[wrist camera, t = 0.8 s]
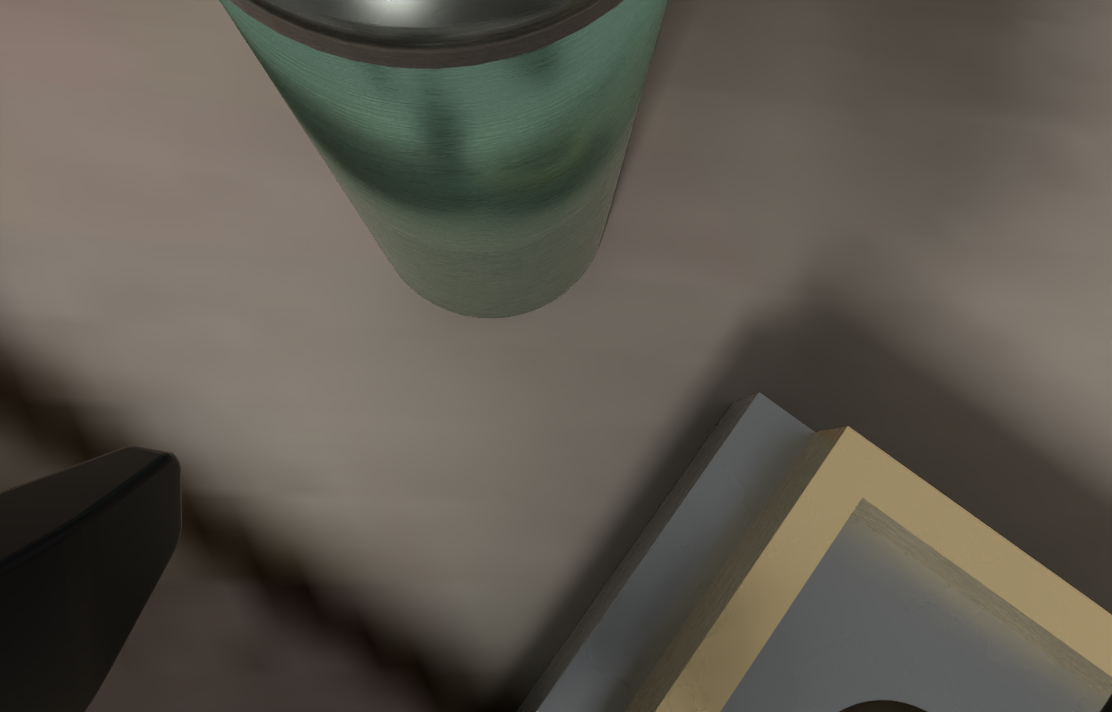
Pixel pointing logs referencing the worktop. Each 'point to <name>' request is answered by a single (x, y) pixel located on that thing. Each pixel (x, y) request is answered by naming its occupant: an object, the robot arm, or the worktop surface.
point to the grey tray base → (824, 595)
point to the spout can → (467, 129)
